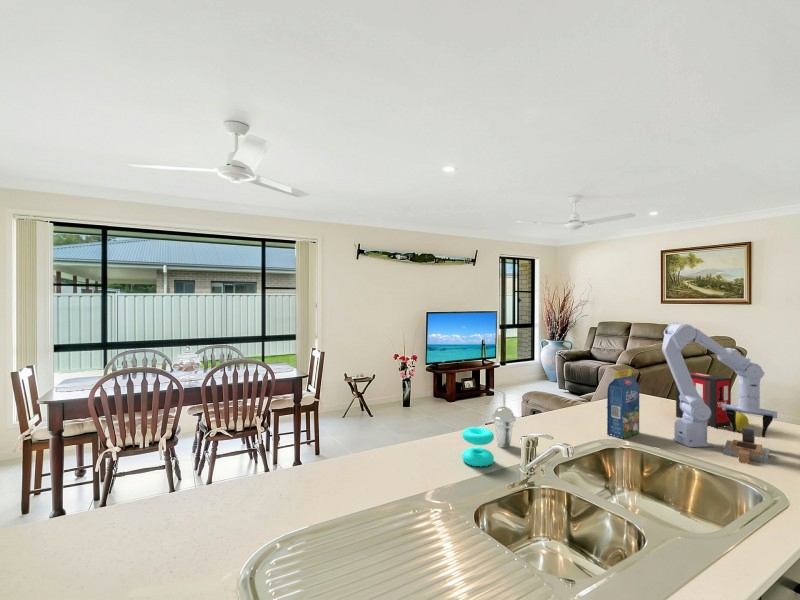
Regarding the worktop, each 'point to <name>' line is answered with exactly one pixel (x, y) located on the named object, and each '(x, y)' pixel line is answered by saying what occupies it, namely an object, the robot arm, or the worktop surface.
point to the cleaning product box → (711, 397)
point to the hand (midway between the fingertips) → (748, 433)
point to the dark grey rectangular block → (748, 434)
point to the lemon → (741, 421)
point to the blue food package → (623, 405)
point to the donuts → (477, 454)
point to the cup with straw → (503, 423)
